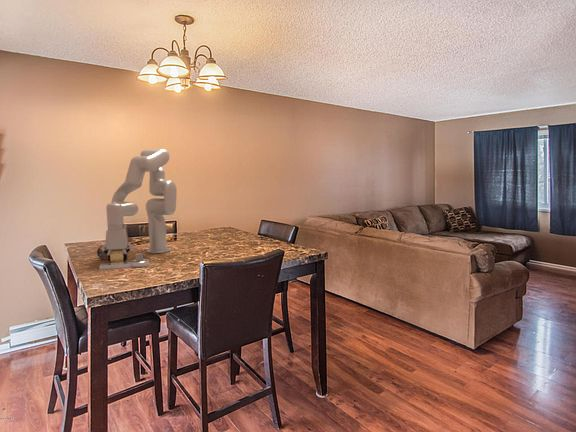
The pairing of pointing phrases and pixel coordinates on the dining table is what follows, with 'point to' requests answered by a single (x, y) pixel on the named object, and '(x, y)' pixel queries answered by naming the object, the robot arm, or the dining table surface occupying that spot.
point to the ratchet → (127, 263)
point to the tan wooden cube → (117, 256)
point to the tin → (102, 254)
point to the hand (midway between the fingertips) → (117, 261)
